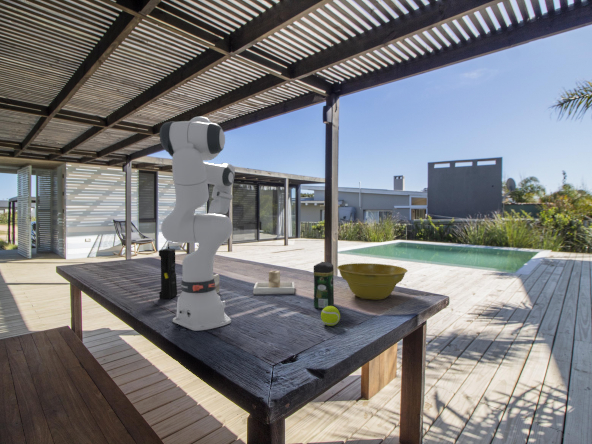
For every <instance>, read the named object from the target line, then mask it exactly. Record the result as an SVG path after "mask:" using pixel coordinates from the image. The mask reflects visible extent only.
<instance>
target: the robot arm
mask: <svg viewBox="0 0 592 444" xmlns="http://www.w3.org/2000/svg"><path fill="white" fill-rule="evenodd" d="M159 129H160V130H159V142H160V145H161V146H162V148H163V149H164V150H165V151H166V153H168V154H169V156H170V157H171V160H172V162H171V163H172V164H171V165H172V167H171V168H172V179H173V184H174V191H175V192H174V193H175V205H174V207H173V210H172V211H170V213H169V214H168V215H167V216H165V218H164V219H163V221H162V223H161V225H160V228H161V234H162V236H163V238H164V239H165V240H166V241H168V242H174V243H179V244H190V243H191V244H192V243H197V244H198V247H197V250H195V251H193V252H192V251H191V253H189V254H187V255H185V256H184V258H183V260H182V263H181V265H182V267H181V268H182V269H181V270H182V272H181V273H182V280H181V282H180V283H181V284H180V287H181V293H180V295H178V297H177V305H176V316H175V317H173V318H172V323H174V324H176V325H177V324H178V326H179V325H180V326H181V327H183V328H187V329H189V330H192V331H195V332H196V331H197V332H198V331H207V330H211V329H216V328H219V327H220V328H221V327H224V326H226V325H228V324H231V323H232V319H231V317H230V316H228V315H227V313H226V312H225V308H226V301H225V300H222V299H221V296H220V295H219V294H218V293H217V292H216V290H215V289H216V286H215V280H214V278H213V274H214V266H215V265H214V263H215V257H216V254H217V252H218V250H219V248H220V247H221V246H222V245H223V244H224V243H225V242H226V241H228V240H229V239H230V238H231V236H232V234H233V233H232V232H233V227H234V226H233V224H232V220H231V219H230V217H229V216H227V215H226V214H227V213H228V212H229V208H230V206H231V200H232V199H233V197H234V196H233V194H232V187H233V184H234V180H235V173H236V169H235V166H234V165H232V164H231V163H227V162H222V163H220V164H217V163H216V164H214V163H210V162H207V161H212V160H214V159H216V157H218V156H219V154H221V152H222V151H223V150H224V148H225V144H226V135H225V132H224V129H223V127H221V126H220V125H219V124H218V123H213V122H212V121H211V120H210V119H208V117H205V116H202V115H201V116H195V117H193V118H191V119H190V120H184V121H183V120H182V121H173V120H172V121H168V122H164V123H162V125H161V127H160V128H159ZM208 184H209V185H214V186H213V188H212V193H211V199H212V200H211V201H210V204H209V208H208V213H197V212H196V211H195V210H197V209H199V208H201V207H203V206H204V205H205V204H207V202H208V200H209V198H210V194H209V193H210V192H209V186H208Z"/></svg>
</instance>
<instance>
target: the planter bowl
mask: <svg viewBox="0 0 592 444" xmlns="http://www.w3.org/2000/svg"><path fill="white" fill-rule="evenodd" d="M336 269H337V270H338V272H339V274H340V277H341V278H342V279H343V280H345V281H346V282H347V285H348V287H349V289H350V291H351V293H352V294H354V295H355V296H356V297H358V298H360V299H364V300H365V299H366V300H383V299H386V298H388V297H389V296H390V295H391V294H393V292H394V289H395V288H396V286H397V284H399V283H401V281H402V280H403V279H404V277H405V274H406V273H407V272H408V270H407V268H406V267H405V268H404V267H402V266H398V265H393V264H383V263H369V262H367V263H365V262H364V263H361V262H360V263H346V264H345V263H344V264H340V265H338V266H336Z"/></svg>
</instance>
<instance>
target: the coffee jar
mask: <svg viewBox="0 0 592 444" xmlns="http://www.w3.org/2000/svg"><path fill="white" fill-rule="evenodd" d="M334 270H335V269H334V264H333V263H331V261H321V262H319V263H316V264H315V265H313V307H314V308H316V309H319V310H323V309H324V308H325V307H327V306H334V304H335V299H334V298H335V296H334V295H335V294H334V292H335V291H334V288H335V287H334V286H335V285H334V272H335V271H334Z"/></svg>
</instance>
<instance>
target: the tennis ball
mask: <svg viewBox="0 0 592 444" xmlns="http://www.w3.org/2000/svg"><path fill="white" fill-rule="evenodd" d="M320 319H321V322H322V323H323V324H324V325H325V326H329V327H334V326H336V325H337V324H339V322H340V319H341V313H340V311H339V309H338V308H337V307H335V306H334V305H333V306H327V307H325V308H324V309H321V312H320Z"/></svg>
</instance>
